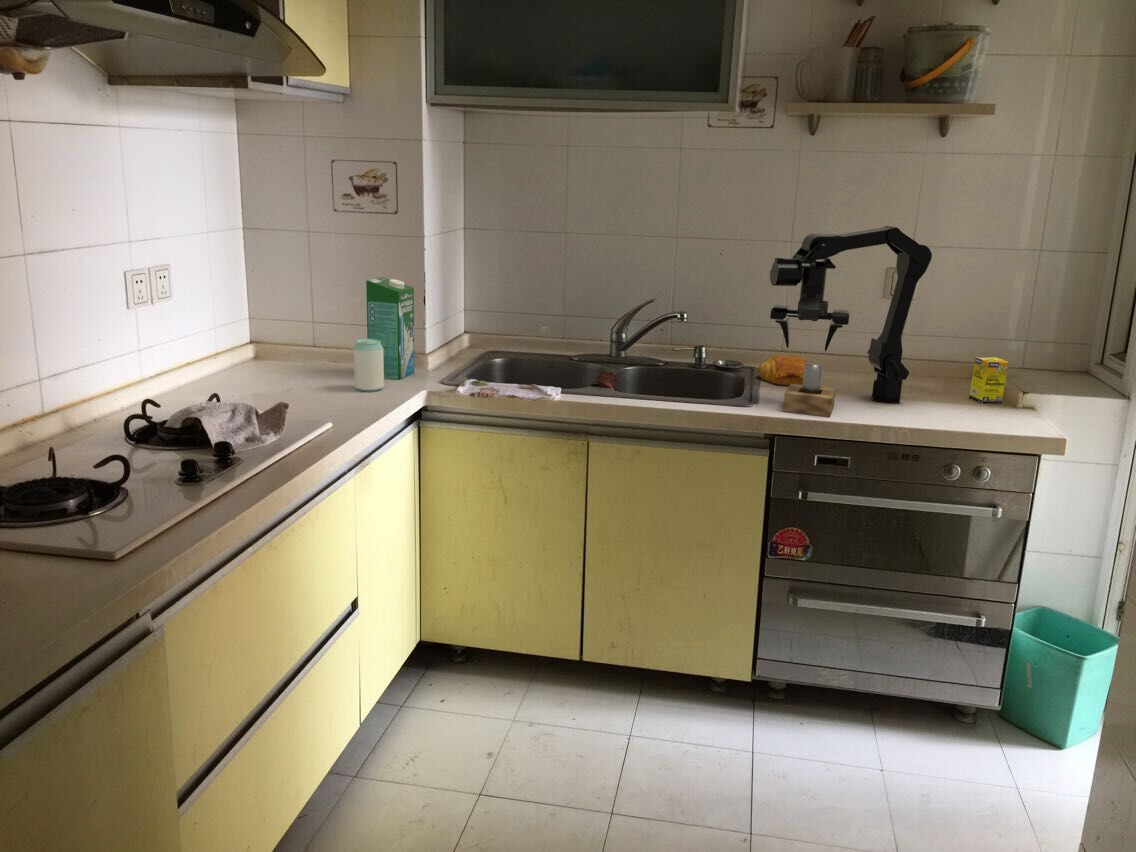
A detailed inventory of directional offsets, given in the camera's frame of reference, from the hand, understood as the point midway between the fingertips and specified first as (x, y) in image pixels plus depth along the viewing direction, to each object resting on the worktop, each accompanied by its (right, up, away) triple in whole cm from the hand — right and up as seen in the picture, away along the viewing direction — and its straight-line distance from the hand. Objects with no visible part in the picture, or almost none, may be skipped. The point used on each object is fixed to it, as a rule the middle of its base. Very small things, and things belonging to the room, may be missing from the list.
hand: (806, 349), depth 238 cm
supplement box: (+49, -13, +10) cm, 51 cm away
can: (-108, -10, -3) cm, 109 cm away
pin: (-1, -14, -6) cm, 15 cm away
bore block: (-1, -15, -6) cm, 16 cm away
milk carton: (-106, -6, +13) cm, 107 cm away
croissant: (0, -7, +23) cm, 24 cm away
